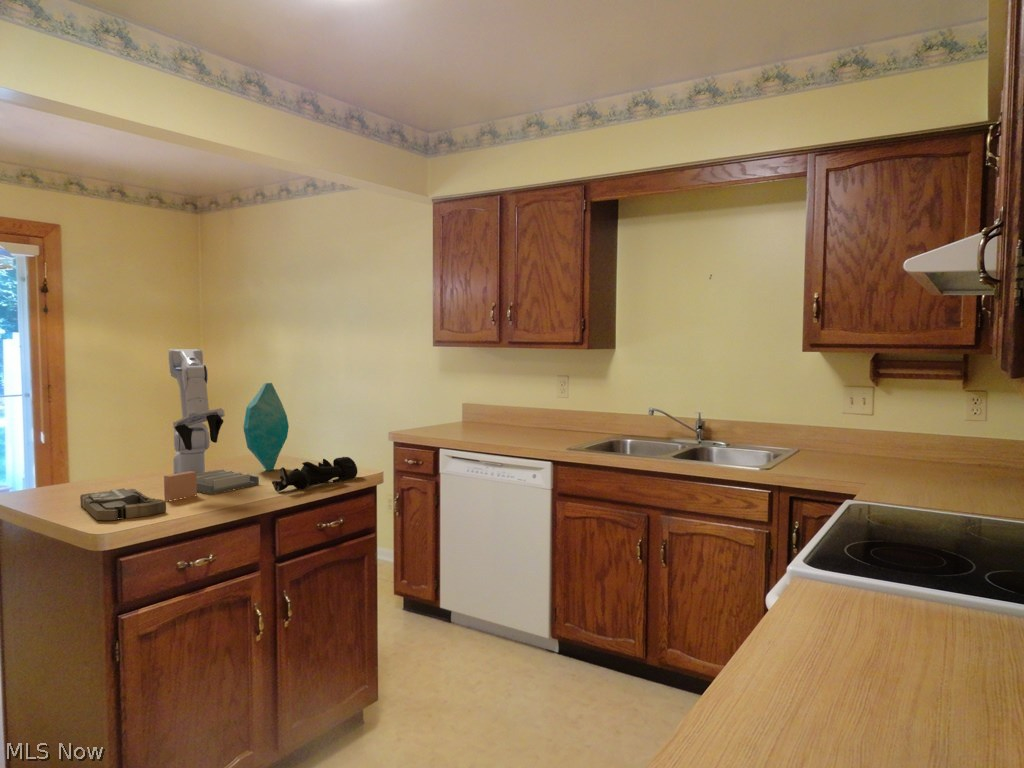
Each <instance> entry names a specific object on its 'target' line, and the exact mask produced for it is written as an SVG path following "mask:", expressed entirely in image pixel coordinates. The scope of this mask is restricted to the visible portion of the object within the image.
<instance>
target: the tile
mask: <svg viewBox="0 0 1024 768" xmlns="http://www.w3.org/2000/svg"><path fill="white" fill-rule="evenodd" d="M163 485H164V486H163V488H164V489H163V491H164V501H165V500H174V499H180V498H184V497H189V498H191V497H190V496H194V497H196V496H195V495H197V496H198V492H197V476H196V472H194V471H188V472H182V473H177V474H174V473H171V474H165V475H163ZM180 500H181V499H180Z"/></svg>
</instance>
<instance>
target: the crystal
mask: <svg viewBox="0 0 1024 768" xmlns="http://www.w3.org/2000/svg"><path fill="white" fill-rule="evenodd" d="M242 427H243V433H244V437H245V442H246V446H247V447H246V448H247V449H248V450H249V451H250V452H251V453H252V454H253V455H254V457H255V458H256V459H257V461H258V462H259V463H260V464H261V465H262V467H263V468H264V469H265V470H266V471H267V470H268V471H267V472H271V471H270V470H273V471H274V469H275V467H276V463H277V462H278V461H277V460H278V459H279V455H280V454H281V452H282V449H283V448H284V447H283V446H284V445H285V443H286V441H287V438H288V433H289V421H288V415H287V413H286V410H285V407H284V405H283V403H282V401H281V399H280V397H279V394H278V393H277V391H276V389H275V387H274V385H273V383H272V382H263V384H262V386H261V387H260V389H259V390H258V391H257V393H256V394H255V396H254V397H253V398H252V399H251V400H250V402H249V403H248V405H247V406H246V409H245V415H244V420H243V426H242Z"/></svg>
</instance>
